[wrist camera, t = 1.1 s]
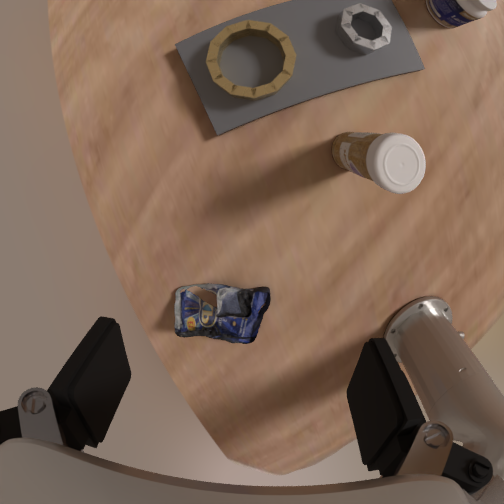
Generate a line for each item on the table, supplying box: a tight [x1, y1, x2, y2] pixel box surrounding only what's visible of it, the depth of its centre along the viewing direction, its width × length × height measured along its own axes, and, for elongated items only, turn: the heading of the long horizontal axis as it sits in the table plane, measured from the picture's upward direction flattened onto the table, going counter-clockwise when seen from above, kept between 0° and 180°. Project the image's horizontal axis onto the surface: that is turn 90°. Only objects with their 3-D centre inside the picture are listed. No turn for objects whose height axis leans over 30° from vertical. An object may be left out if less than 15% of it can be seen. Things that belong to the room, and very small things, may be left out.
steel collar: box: [335, 3, 392, 55], centre depth 23 cm, size 6×6×2 cm
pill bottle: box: [426, 0, 497, 28], centre depth 17 cm, size 6×6×10 cm
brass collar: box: [206, 20, 296, 101], centre depth 25 cm, size 8×8×2 cm
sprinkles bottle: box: [332, 132, 426, 194], centre depth 25 cm, size 5×5×13 cm
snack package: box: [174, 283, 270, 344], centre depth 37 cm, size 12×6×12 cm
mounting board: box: [175, 0, 425, 135], centre depth 26 cm, size 26×12×2 cm, turn 113°
